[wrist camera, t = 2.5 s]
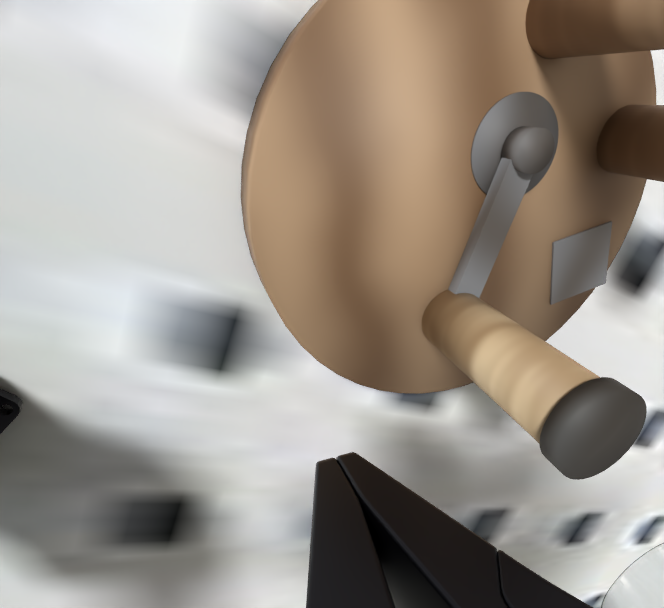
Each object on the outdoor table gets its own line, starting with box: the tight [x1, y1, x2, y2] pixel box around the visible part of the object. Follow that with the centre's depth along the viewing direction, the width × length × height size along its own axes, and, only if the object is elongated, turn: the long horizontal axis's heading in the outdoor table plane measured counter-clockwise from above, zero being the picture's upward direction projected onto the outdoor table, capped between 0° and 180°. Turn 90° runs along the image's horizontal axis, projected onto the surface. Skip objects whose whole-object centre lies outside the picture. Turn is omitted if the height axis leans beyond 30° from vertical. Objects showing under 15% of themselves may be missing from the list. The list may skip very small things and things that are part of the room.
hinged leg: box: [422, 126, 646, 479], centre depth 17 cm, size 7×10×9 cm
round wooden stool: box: [241, 0, 664, 393], centre depth 17 cm, size 20×20×11 cm
